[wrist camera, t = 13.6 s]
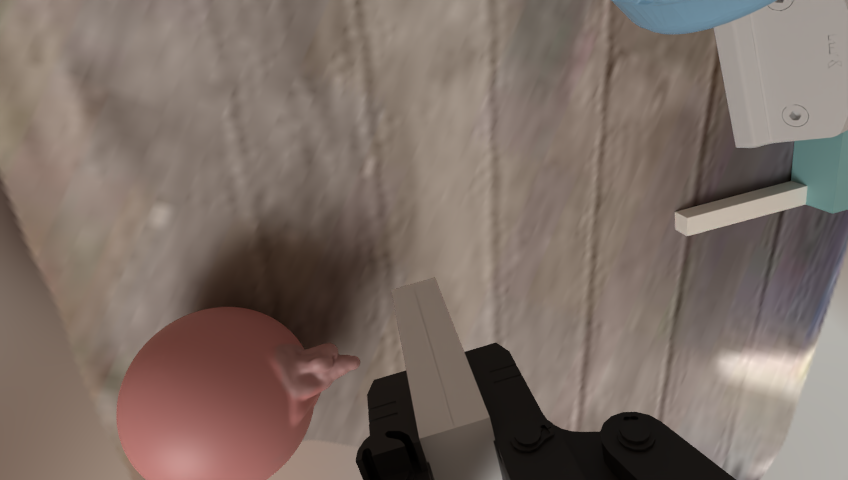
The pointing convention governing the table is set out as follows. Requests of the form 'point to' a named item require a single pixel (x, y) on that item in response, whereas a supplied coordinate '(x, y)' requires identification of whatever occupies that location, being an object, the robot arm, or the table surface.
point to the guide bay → (782, 189)
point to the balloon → (222, 396)
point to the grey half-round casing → (786, 71)
